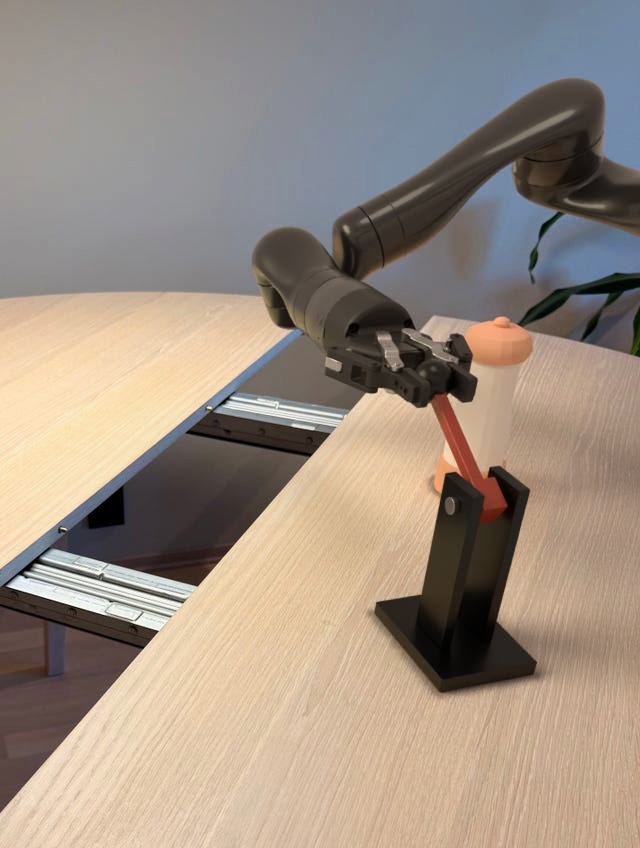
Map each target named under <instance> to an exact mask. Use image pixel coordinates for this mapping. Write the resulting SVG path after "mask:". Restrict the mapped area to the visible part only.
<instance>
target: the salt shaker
mask: <svg viewBox="0 0 640 848" xmlns="http://www.w3.org/2000/svg"><path fill="white" fill-rule="evenodd" d="M463 336H464V338H465V340H466V342H467V344H468V346H469V348H470V350H471V352H472V353H473V358H472V363H471V368H470V374H472V375H474V376H475V377H477V379H478V383H477V388H476V392H475V396H474V398H473V401H472V402H468V403H462V402H460V401H459V400H458V399H456V402H455V404H454V405H455V406H454V408H453V411H454V413H455V415H456V417H457V420H458V422H459V424H460V427H461V429H462V431H463V434H464V436H465V438H466V440H467V443H468V445H469V447H470V450H471V452H472V454H473V456H474V459H475V461H476V463H477V466H478V468H479V470H480V472H481V475H482V477H483V479H485V478H487V476H488V471H489V467H493V466H501V467H502V468H503V469H505V470H507V469H506V468H507V462H506V460H505V457H506V453H507V449H508V446H509V442H510V438H511V434H512V420H513V419H512V418H513V405H514V404H513V403H514V396H515V392H516V387H517V383H518V378H519V374H520V370H521V365H522V364H523V363H524V362H526V361H527V360H528V359H529V358H530V356H531V354H532V353H533V349H534V340H533V338H532V336H531V333H530V332H529V331H528V330H527V329H525V328H523V327H522V326H520V325H518V324H517V323H513V322H511V320H510V318H508V317H506V316H498V317H496V318H495V319H493V320H487V321H483V322H479V323H475V324H474V325H472V326H471V327H470V328H469V329H468V330H467V331H466V332H465V334H464V335H463ZM443 447H444V448H443V450H442V451H441V452H440V453H439V456H438V460H437V465H436V469H435V474H434V479H433V487H434V489H435V490H436V491H437V492H438V493H439V494H440V495H441V493H442V488H443V483H444V478H445V473H449V472H457V473H458V474H459V475H461V473H460V470H459V468H458V466H457V463H456V461H455V459H454V456H453V454H452V452H451V449H450V447H449V445H448V442H447V440H446V439H445V441H444V446H443ZM461 476H462V475H461Z"/></svg>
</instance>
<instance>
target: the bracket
mask: <svg viewBox="0 0 640 848" xmlns="http://www.w3.org/2000/svg"><path fill="white" fill-rule="evenodd" d="M492 477H495V478H496V480H497V483H498V485H499V487H500V490H501V492H502V494H503V496H504V499H505V501H506V503H507V505H508V506H507V508H506V509H505V510H504V511H503V512H502V513H501V515H500V516H499V517H498V518H497V519H496V520H495V521H494V522H489V523H483V524H479V521H480V517H481V512H482V508H483V504H484V499H485V496H484V495H483V494H482V493H481V492H480V491H478V490H477V489H476V488H475V487H474V486H473V485H471V484H470V483H469V482H468V481H467V480H465V479H464V478H463V477H462V476H461V475H459V474H458V473H457V472H449V473H445V478H444V483H443V488H442V493H441V494H440V499H439V502H438V509H437V513H436V519H435V522H434V528H433V534H432V539H431V543H430V548H429V555H428V558H427V563H426V568H425V573H424V578H423V584H422V588H421V593H420V594H413V595H408V596H403V597H397V598H390V599H384V600H379V601H375V605H374V612H373V613H374V615H375V616H376V617H377V619H378V620H379V621H380V622H381V623H382V624H383V626H384V627H385V628H386V629H387V630H388V632H389V633H390V634H391V635H392V637H393V638H394V639H395V640H396V641H397V643H398V644H399V645H400V646H401V647H402V649H403V650H404V651H405V653H406V654H408V656H409V657H410V658H411V660H412V661H413V662H414V663H415V664H416V665H417V667H418V668H419V669H420V670H421V672H422V673H423V675H425V677H426V678H427V679H428V680H429V681H430V683H431V684H432V685H433V686H434V687H435V689H436V690H437V691H438V692H439V693H442V692H447V691H448V692H449V691H452V690H457V689H463V688H469V687H473V686H479V685H483V684H488V683H494V682H500V681H504V680H509V679H515V678H520V677H525V676H530V675H534V674H535V671H536V668H537V665H538V661H537V660H536V659H535V658H534V657H533V656H532V655H531V654H530V653H529V652H528V651H527V650H526V649H525V648H524V647H523V646H522V645H521V644H520V643H519V642H518V641H517V640H516V639H515V638H514V637H513V636H512V635H511V634H510V633H509V632H508V631H507V630H506V628H504V627H503V626H502V625H501V624H500V622H498V617H499V614H500V609H501V607H502V602H503V598H504V594H505V590H506V586H507V582H508V579H509V576H510V572H511V571H510V570H511V568H512V563H513V560H514V556H515V552H516V548H517V545H518V540H519V536H520V533H521V529H522V525H523V521H524V517H525V513H526V511H527V510H526V509H527V505H528V502H529V498H530V494H531V489H530V488H529V487H528V486H526V485H525V484H524V483H523V482H521V481H520V480H519V479H518V478H516V476H514V475H513V474H511V473H510V472H509V471H507V469H503V468H502V467H501V466H493V467H489V471H488V476H487V478H492Z"/></svg>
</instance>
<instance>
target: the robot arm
mask: <svg viewBox="0 0 640 848" xmlns="http://www.w3.org/2000/svg"><path fill="white" fill-rule="evenodd" d="M606 110H607V105H606V96H605V94H604V92H603V90H602V88H601V87H600V85H598V84H597V83H595V82H594V81H592V80H589V79H586V78H581V77H565V78H564V77H563V78H559V79H555V80H551V81H548V82H547V83H544V84H542V85H539V86H538V87H536V88H534V89H533V90H531V91H529V92H527V93H525V94H524V95H523V96H521V97H519V98H518V99H516V100H515V101H513V102H512V103H511V104H509V105H508V106H507V107H506V108H504V109H503V110H501V111H500V112H498V113H497V114H496V115H495V116H494V117H492V118H490V119H489V120H488V121H486V122H485V123H484V124H483V125H481V126H479V127H478V128H477V129H476V130H475V131H473V132H471V133H470V134H469V135H468V136H466V137H465V138H463V139H462V140H461V141H460V142H458V143H457V144H456V145H454V146H453V147H452V148H450V149H449V150H448V151H446V152H445V153H443V154H442V155H441V156H439V157H438V158H437V159H435V160H433V162H431V163H430V164H428V165H427V166H426V167H423V168H422V169H421V170H419V171H418V172H417V173H414V174H413V175H412V176H410V177H409V178H407V179H405V180H403V181H401V182H399V183H398V184H397V185H395V186H393V187H391V188H389V189H388V190H385V191H384V192H382V193H379V194H378V195H375V196H374V197H372V198H370V199H368V200H366V201H365V202H364V201H363V202H362V203H361V204H359V205H357V206H355V207H353V208H351V209H349V210H347V211H345V212H344V213H342V214H341V215H339V216H338V217H337V218H336V219H335V220H334V222H333V224H332V226H331V227H332V228H331V242H332V243H331V245H332V246H331V247H332V248H331V249H332V250H331V254H330V253H329V252H328V250H327V249H326V248H325V246H324V245H323V244H322V243H321V242H320V240H319V239H318V238H317V237H316V236H315V234H313V233H311V232H310V231H308V230H306V229H304V228H301V227H299V226H291V225H288V226H281V227H276V228H273V229H271V230H269V231H268V232H266V233H265V234H264V235H263V236H261V238H260V239H259V240H258V241H257V242H256V244H255V245H254V248H253V251H252V254H251V268H252V271H253V275H254V277H255V281H256V282H257V286H258V289H259V292H260V294H261V297H262V300H263V303H264V305H265V308H266V311H267V313H268V316H269V318H270V320H271V322H272V323H273V324H274V325H275V326H276V327H277V328H280V329H282V330H288V331H289V330H290V331H295V330H299V331H300V332H301V333H302V334H304V335H305V336H306V337H307V338H308V339H309V340H311V341H312V342H313V343H314V345H315V346H316V347H317V348H318V350H319V351H320V352H321V353H322V354H324V355H325V363H324V364H325V365H324V376H326V377H328V378H331V379H332V380H336V381H338V382H340V383H342V384H344V385H346V386H349V387H352V388H354V389H356V390H359V391H362V392H363V393H365V394H369V395H374V394H375V395H376V394H377V393H378V392H379V389H384V391H385V393H386V394H389V395H397V396H399V397H400V398H401V399H403V400H404V401H405V402H407V403H409V404H411V405H412V406H414V407H415V408H416V409H424V408H427V407H428V406H429V403H428V401H429V396H430V390H431V385H430V383H429V381H427V380H426V379H425V378H423V377H422V376H421V375H419V374H418V373H416V372H415V371H414V368H415V367H416V366H417V365H419V364H420V363H422V362H424V361H426V360H439V361H442V362H444V363H445V364H446V365H448V367H449V368H450V369H451V371H452V374H453V386H452V389H451V391H450V393H449V395H450V396H451V397H454V398H455V399H456V400H459V401H460V402H462V403H468V402H472V401H473V398H474V396H475V392H476V388H477V383H478V379H477V377H475V376H474V375H472V374H470V368H471V363H472V358H473V353H472V352H471V350H470V348H469V346H468V344H467V342H466V340H465V338H464V336H465V335H463V334H461V333H458V332H454V333H450V334H449V336H448V338H446V340H445V341H434V338H432V337H431V335H429V334H426V333H422V332H420V331H419V330H417V328H416V326H415V324H414V321H413V319H412V316H411V315H410V313H409V312H408V310H407V309H406V308H405V307H404V306H403V305H401V304H400V303H398V302H396V300H393V299H392V298H391V297H389V296H388V295H386V294H384V293H383V292H381V291H380V290H378V289H377V288H375V287H373V286H372V285H370V284H368V283H366V282H364V281H365V280H366V279H367V278H369V277H370V276H372V275H373V274H375V273H377V272H378V271H380V270H382V269H385V268H386V267H388V266H391V265H392V264H394V263H396V262H398V261H400V260H402V259H404V258H407V256H410V255H412V254H414V253H415V252H417V251H418V250H420V249H421V248H423V247H424V246H426V245H427V244H428V243H429V242H431V241H432V240H433V239H434V238H435V237H436V236H438V234H439V233H440V232H441V231H443V229H444V228H445V227H446V226H447V225H448V224H449V223H450V221H452V219H453V218H454V217H455V216H456V215H457V213H459V212H460V211H461V209H462V208H463V207H464V206H465V205H466V203H467V202H468V201H469V200H471V198H472V197H473V196H474V195H475V194H476V193H477V192H478V191H479V190H480V189H481V188H482V187H483V186H484V185H485V184H486V183H487V182H489V180H491V179H492V178H493V177H494V176H495V175H497V174H498V173H499V172H500V171H502V170H504V169H505V168H506V167H508V166H509V165H511V179H512V183H513V187H514V188H515V190H516V192H517V194H519V195H520V196H521V197H522V198H524V199H525V200H527V201H529V202H531V203H533V204H535V205H537V206H540V207H543V208H546V209H549V210H552V211H555V212H559V213H563V214H566V215H570V216H573V217H577V218H581V219H585V220H588V221H592V222H595V223H599V224H603V225H606V226H609V227H612V228H615V229H617V230H620V231H623V232H626V233H628V234H631V235H634V236H637V237H638V238H640V169H637V168H633V167H630V166H627V165H624V164H621V163H619V162H616V161H614V160H612V159H610V158H609V157H607V156H606V155H605V154H604V142H605V130H606V121H607V120H606V119H607V118H606V117H607V111H606Z"/></svg>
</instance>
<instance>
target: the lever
mask: <svg viewBox="0 0 640 848" xmlns="http://www.w3.org/2000/svg"><path fill="white" fill-rule="evenodd" d="M414 371H415V372H416V373H418V374H419V375H421V376H422V377H423V378H425V379H426V380H427V381H429V383H430V385H431V390H430V396H429V401H428V405H431V408H432V409H433V411H434V414H435V416H436V419H437V421H438V423H439V426H440V428H441V431H442V433H443V435H444V437H445V440H447V442H448V445H449V447H450V449H451V452H452V454H453V456H454V459H455V461H456V463H457V466H458V468H459V470H460V473H461V475H462V477H463V478H464V479H465V480H467V481H468V482H469V483H470V484H471V485H473V486H474V487H475V488H476V489H477V490H478V491H480V492H481V493H482V494H483V495H484V496H485V499H484V504H483V508H482V512H481V517H480V521H479V524H483V523H489V522H494V521H495V520H496V519H497V518H498V517H499V516H500V515H501V513H502V512H503V511H504V510H505V509H506V508H507V506H508V505H507V503H506V501H505V499H504V496H503V494H502V492H501V490H500V487H499V485H498V483H497V480H496V478H495V477H492V478H485V479H483V477H482V475H481V472H480V470H479V468H478V466H477V463H476V461H475V459H474V456H473V454H472V452H471V450H470V447H469V445H468V443H467V440H466V438H465V436H464V434H463V431H462V429H461V427H460V424H459V422H458V420H457V417H456V415H455V413H454V408H453V406H452V403H451V402H450V400H449V397H448V395H450V391H451V389H452V386H453V374H452V371H451V369H450V368H449V367H448V365H446V364H445V363H444V362H442V361H439V360H426V361H424V362H422V363H420V364H419V365H417V366H416V367H415V368H414Z"/></svg>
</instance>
